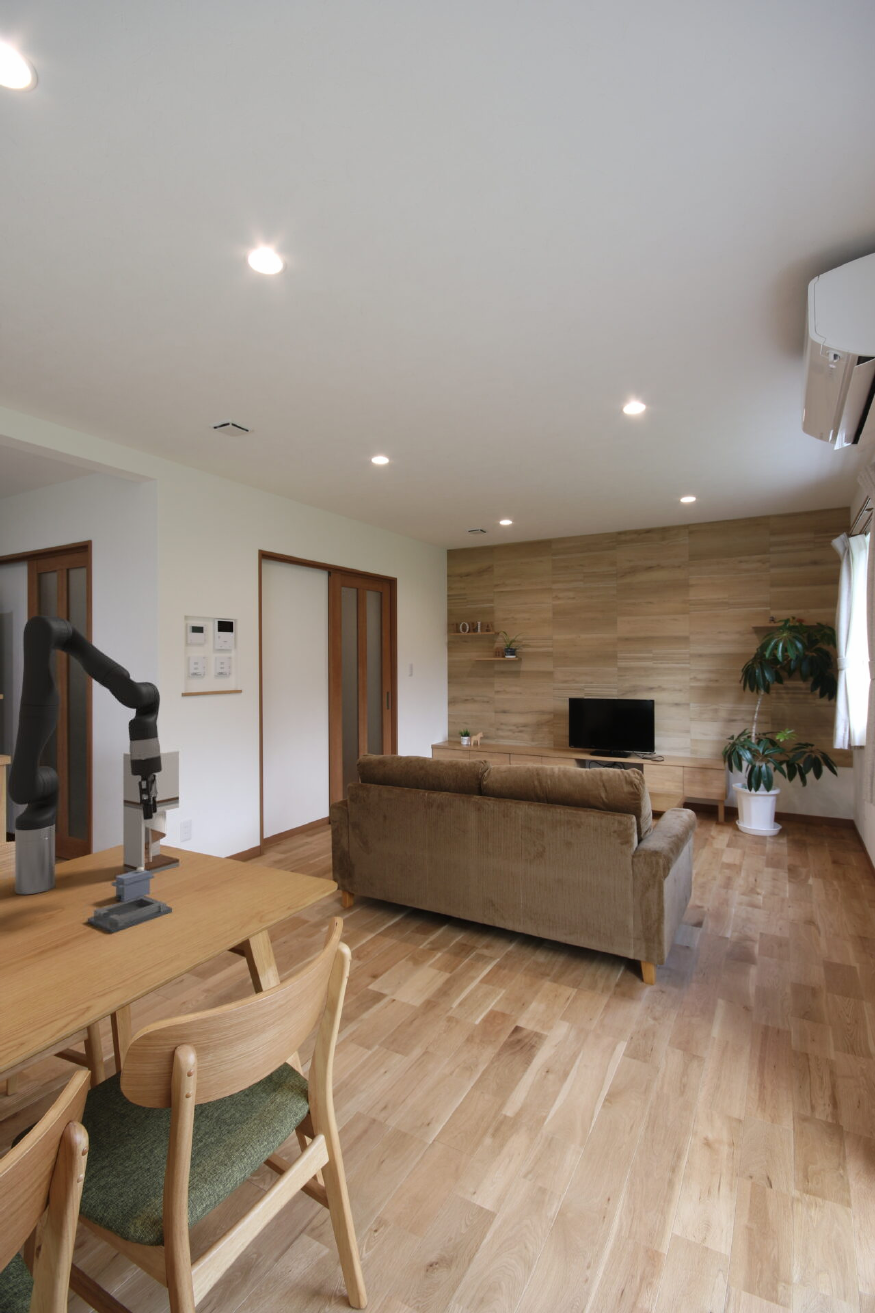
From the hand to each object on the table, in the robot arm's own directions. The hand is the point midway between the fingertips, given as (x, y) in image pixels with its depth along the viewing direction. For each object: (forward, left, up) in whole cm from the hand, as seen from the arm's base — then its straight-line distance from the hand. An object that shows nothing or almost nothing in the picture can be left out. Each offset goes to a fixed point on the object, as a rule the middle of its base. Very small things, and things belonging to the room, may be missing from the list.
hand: (150, 816), depth 169 cm
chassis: (+11, -12, -21) cm, 26 cm away
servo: (-2, -4, -21) cm, 21 cm away
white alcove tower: (-20, +12, -21) cm, 32 cm away
